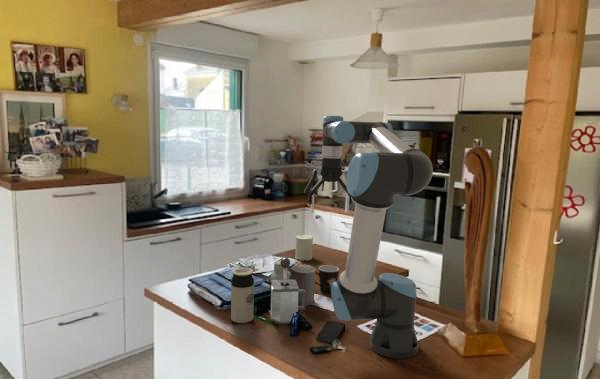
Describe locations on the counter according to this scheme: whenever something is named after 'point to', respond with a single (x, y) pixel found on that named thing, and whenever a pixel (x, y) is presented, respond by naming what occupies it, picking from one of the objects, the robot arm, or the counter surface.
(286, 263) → the plunger
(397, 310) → the robot arm
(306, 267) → the grey cylinder
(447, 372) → the counter surface
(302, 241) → the can
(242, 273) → the travel mug
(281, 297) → the carafe
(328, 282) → the coffee mug
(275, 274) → the air freshener
